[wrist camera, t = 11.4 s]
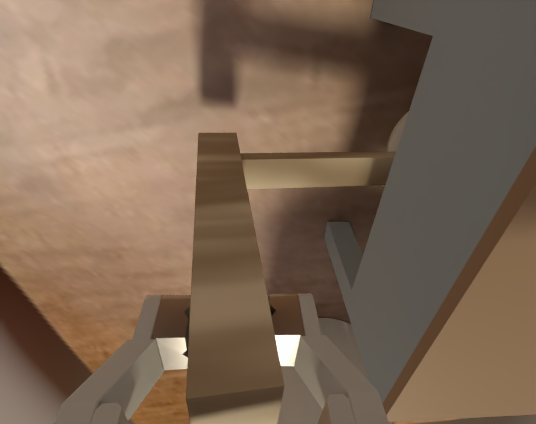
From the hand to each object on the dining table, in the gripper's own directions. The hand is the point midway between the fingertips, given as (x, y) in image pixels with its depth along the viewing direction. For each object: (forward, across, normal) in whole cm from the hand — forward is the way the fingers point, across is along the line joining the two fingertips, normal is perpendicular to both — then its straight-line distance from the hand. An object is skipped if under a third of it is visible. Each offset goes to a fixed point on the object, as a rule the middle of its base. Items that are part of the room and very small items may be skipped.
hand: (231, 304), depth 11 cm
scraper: (+13, -6, 0) cm, 15 cm away
